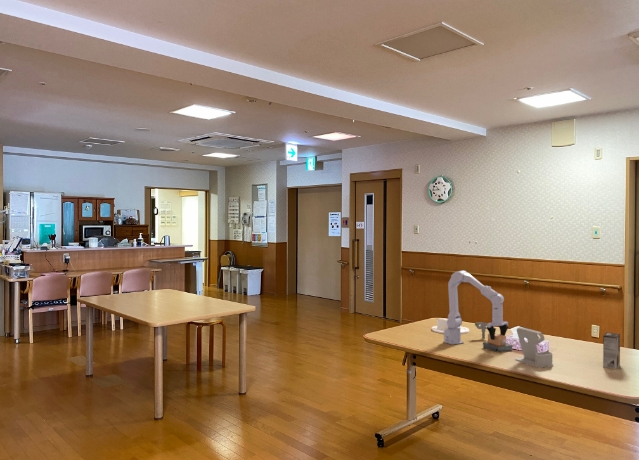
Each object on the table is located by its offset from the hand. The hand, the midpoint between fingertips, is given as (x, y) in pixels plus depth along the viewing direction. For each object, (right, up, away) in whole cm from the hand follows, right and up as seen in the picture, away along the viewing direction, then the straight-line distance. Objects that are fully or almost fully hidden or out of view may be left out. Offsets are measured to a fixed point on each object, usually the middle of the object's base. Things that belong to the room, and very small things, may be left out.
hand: (497, 338), depth 288 cm
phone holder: (+9, -7, -28) cm, 30 cm away
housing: (0, -3, +1) cm, 3 cm away
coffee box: (+45, -7, -35) cm, 58 cm away
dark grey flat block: (0, -6, 0) cm, 6 cm away
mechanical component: (0, -6, +26) cm, 26 cm away
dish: (-14, -6, +50) cm, 52 cm away
